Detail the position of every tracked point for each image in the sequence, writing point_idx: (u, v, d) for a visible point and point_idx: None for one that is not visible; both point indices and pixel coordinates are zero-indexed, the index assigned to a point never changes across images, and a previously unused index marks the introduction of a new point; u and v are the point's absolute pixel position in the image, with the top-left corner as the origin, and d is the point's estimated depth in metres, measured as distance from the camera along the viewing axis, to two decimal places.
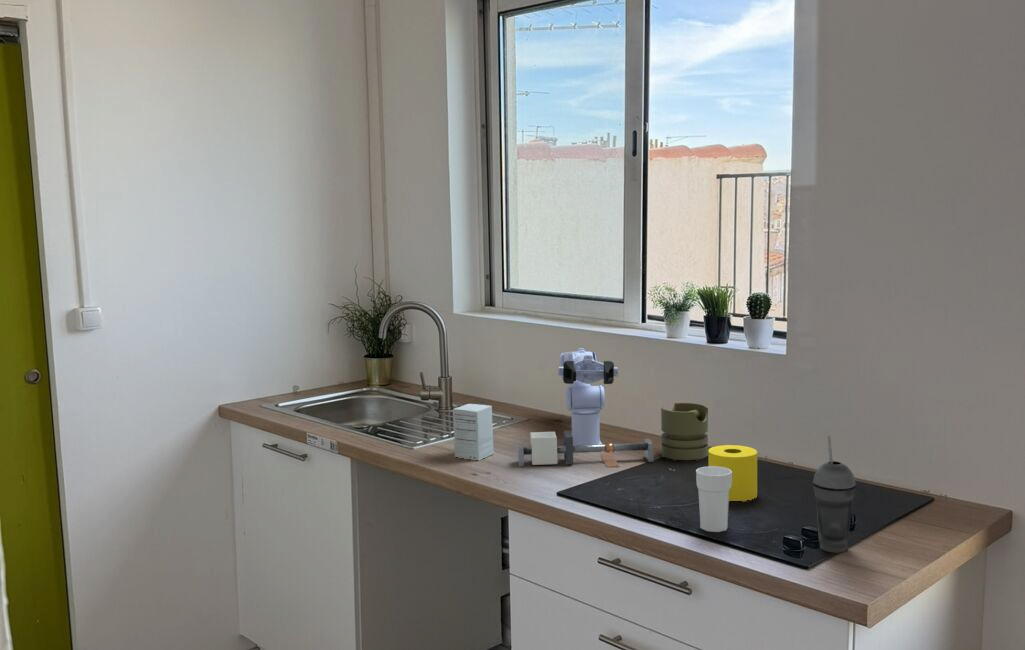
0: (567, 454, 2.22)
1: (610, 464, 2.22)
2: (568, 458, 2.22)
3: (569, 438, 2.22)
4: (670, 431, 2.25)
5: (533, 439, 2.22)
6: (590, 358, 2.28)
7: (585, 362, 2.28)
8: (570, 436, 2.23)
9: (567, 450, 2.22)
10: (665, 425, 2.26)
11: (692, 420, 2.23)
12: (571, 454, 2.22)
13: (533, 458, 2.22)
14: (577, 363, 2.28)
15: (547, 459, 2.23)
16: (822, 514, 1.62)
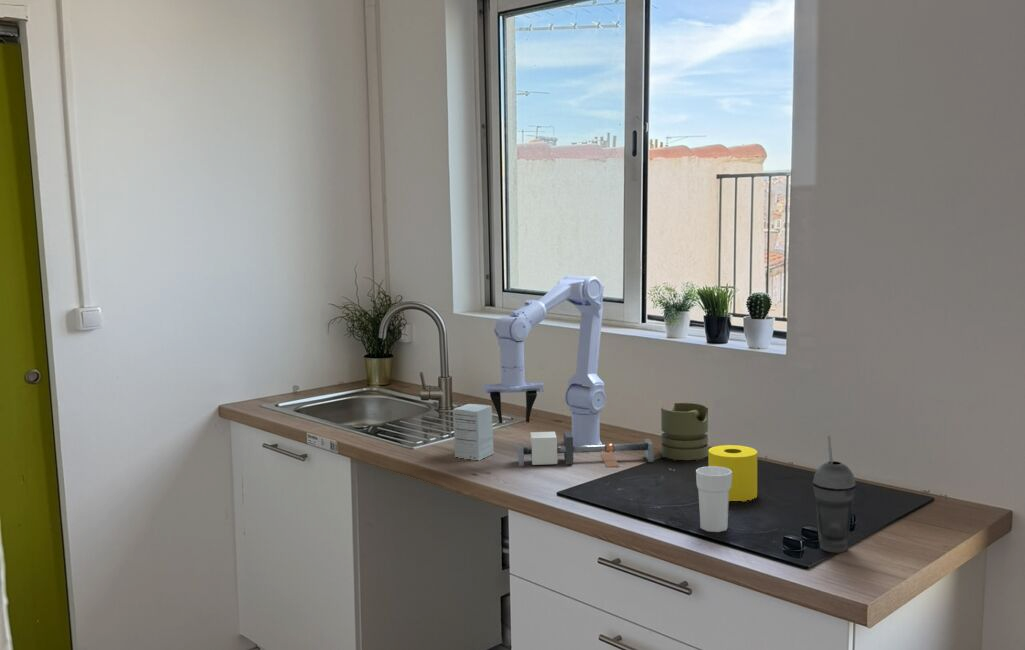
0: (567, 454, 2.22)
1: (610, 464, 2.22)
2: (568, 458, 2.22)
3: (569, 438, 2.22)
4: (670, 431, 2.25)
5: (533, 439, 2.22)
6: (515, 389, 2.20)
7: None
8: (570, 436, 2.23)
9: (567, 450, 2.22)
10: (665, 425, 2.26)
11: (692, 420, 2.23)
12: (571, 454, 2.22)
13: (533, 458, 2.22)
14: (502, 389, 2.21)
15: (547, 459, 2.23)
16: (822, 514, 1.62)
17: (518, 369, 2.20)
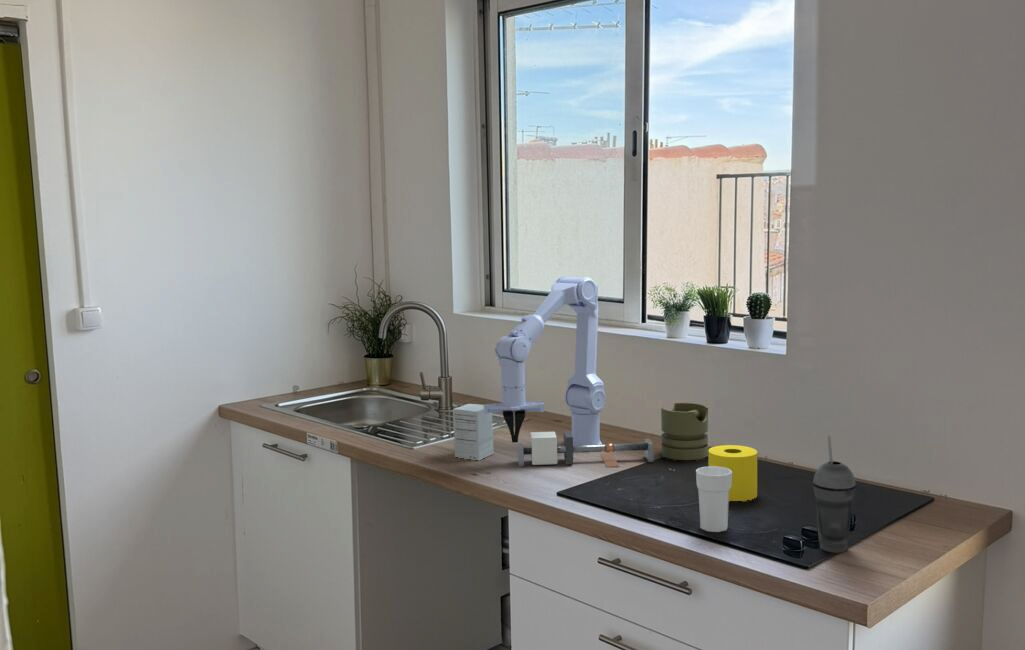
0: (567, 454, 2.22)
1: (610, 464, 2.22)
2: (568, 458, 2.22)
3: (569, 438, 2.22)
4: (670, 431, 2.25)
5: (533, 439, 2.22)
6: (516, 409, 2.21)
7: None
8: (570, 436, 2.23)
9: (567, 450, 2.22)
10: (665, 425, 2.26)
11: (692, 420, 2.23)
12: (571, 454, 2.22)
13: (533, 458, 2.22)
14: None
15: (547, 459, 2.23)
16: (822, 514, 1.62)
17: (519, 389, 2.21)
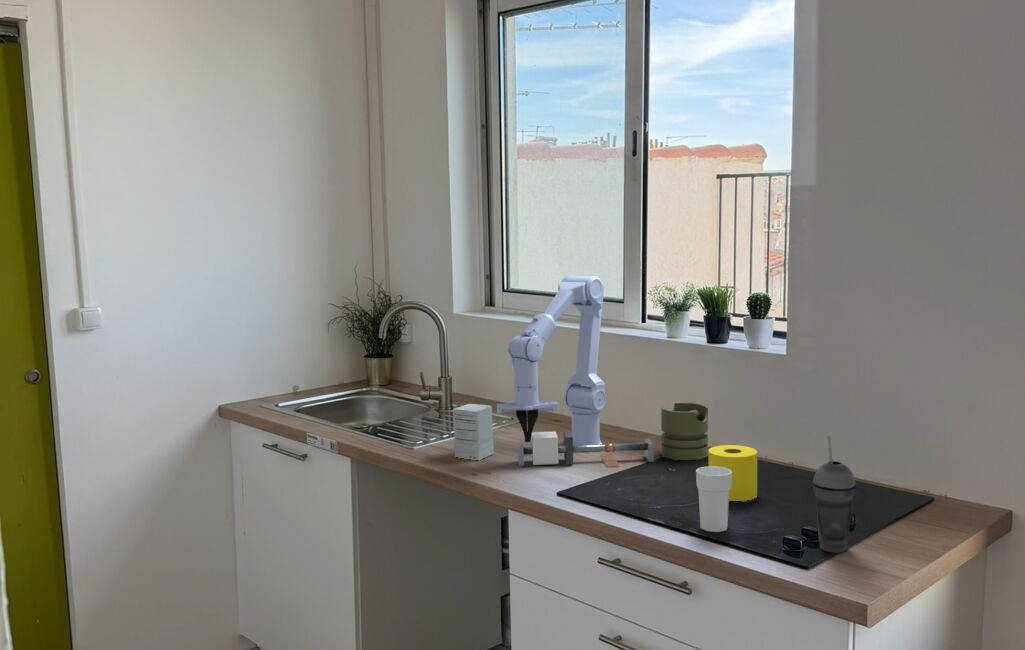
0: (567, 454, 2.22)
1: (610, 464, 2.22)
2: (568, 458, 2.22)
3: (569, 438, 2.22)
4: (670, 431, 2.25)
5: (534, 439, 2.22)
6: None
7: None
8: (570, 436, 2.23)
9: (567, 450, 2.22)
10: (665, 425, 2.26)
11: (692, 420, 2.23)
12: (571, 454, 2.22)
13: (534, 458, 2.22)
14: (516, 409, 2.22)
15: (548, 459, 2.23)
16: (822, 514, 1.62)
17: (532, 389, 2.21)
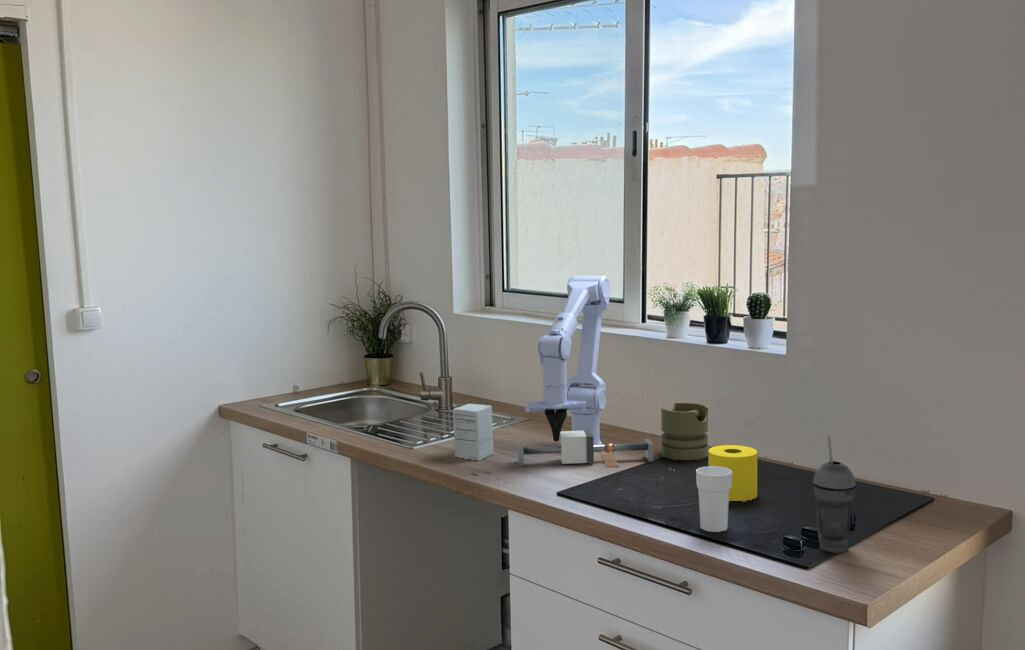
0: (587, 453, 2.22)
1: (610, 464, 2.22)
2: (588, 457, 2.22)
3: (589, 437, 2.22)
4: (670, 431, 2.25)
5: (563, 438, 2.22)
6: None
7: None
8: (590, 435, 2.23)
9: (588, 450, 2.22)
10: (665, 425, 2.26)
11: (692, 420, 2.23)
12: (591, 453, 2.22)
13: (563, 457, 2.23)
14: (545, 408, 2.22)
15: (577, 458, 2.23)
16: (822, 514, 1.62)
17: (561, 388, 2.21)
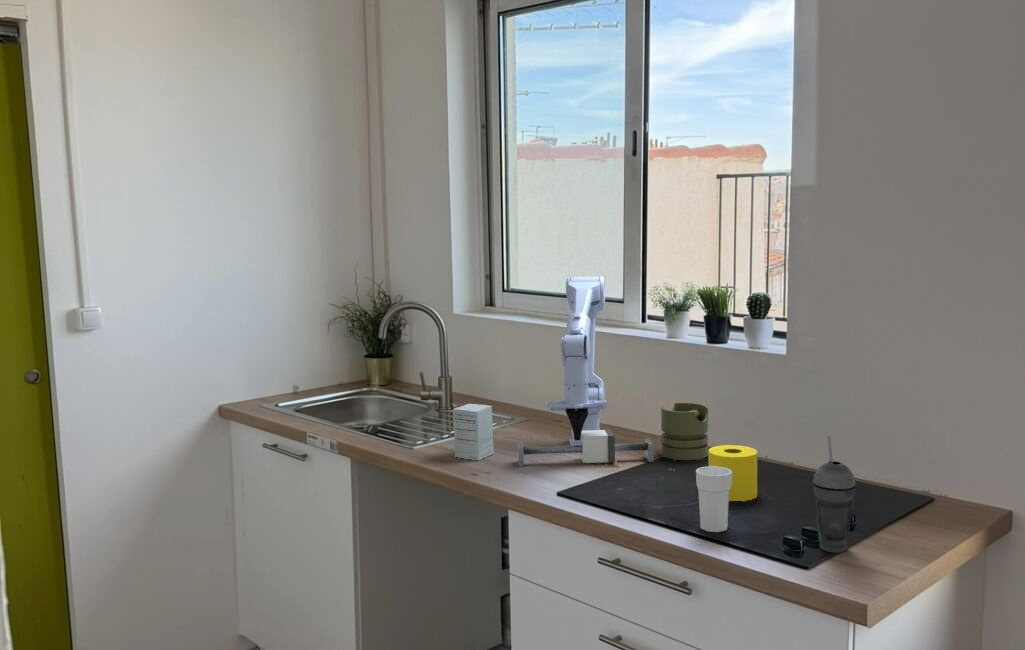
0: (609, 453, 2.22)
1: (610, 464, 2.22)
2: (610, 457, 2.23)
3: (611, 437, 2.22)
4: (670, 431, 2.25)
5: (584, 437, 2.22)
6: (580, 407, 2.21)
7: None
8: (612, 435, 2.23)
9: (609, 449, 2.22)
10: (665, 425, 2.26)
11: (692, 420, 2.23)
12: (613, 453, 2.22)
13: (584, 456, 2.23)
14: (566, 407, 2.22)
15: (598, 457, 2.23)
16: (821, 514, 1.62)
17: (582, 387, 2.21)
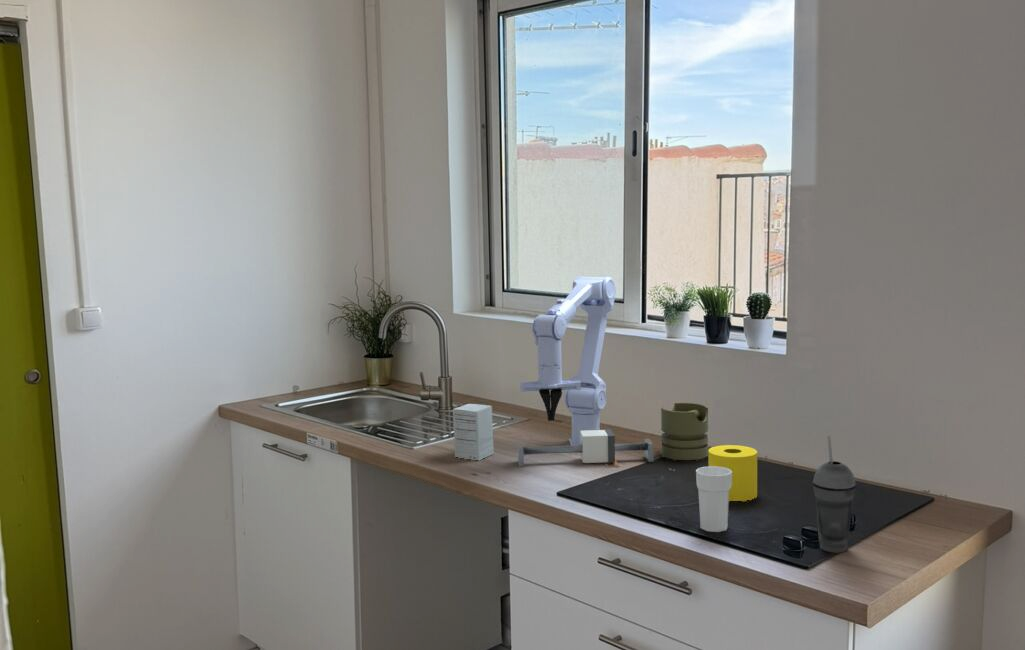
0: (609, 453, 2.22)
1: (610, 464, 2.22)
2: (610, 457, 2.23)
3: (611, 437, 2.22)
4: (670, 431, 2.25)
5: (584, 437, 2.22)
6: (553, 387, 2.21)
7: None
8: (612, 435, 2.23)
9: (609, 449, 2.22)
10: (665, 425, 2.26)
11: (692, 420, 2.23)
12: (613, 453, 2.22)
13: (584, 456, 2.23)
14: (540, 387, 2.22)
15: (598, 457, 2.23)
16: (822, 514, 1.62)
17: (556, 367, 2.21)
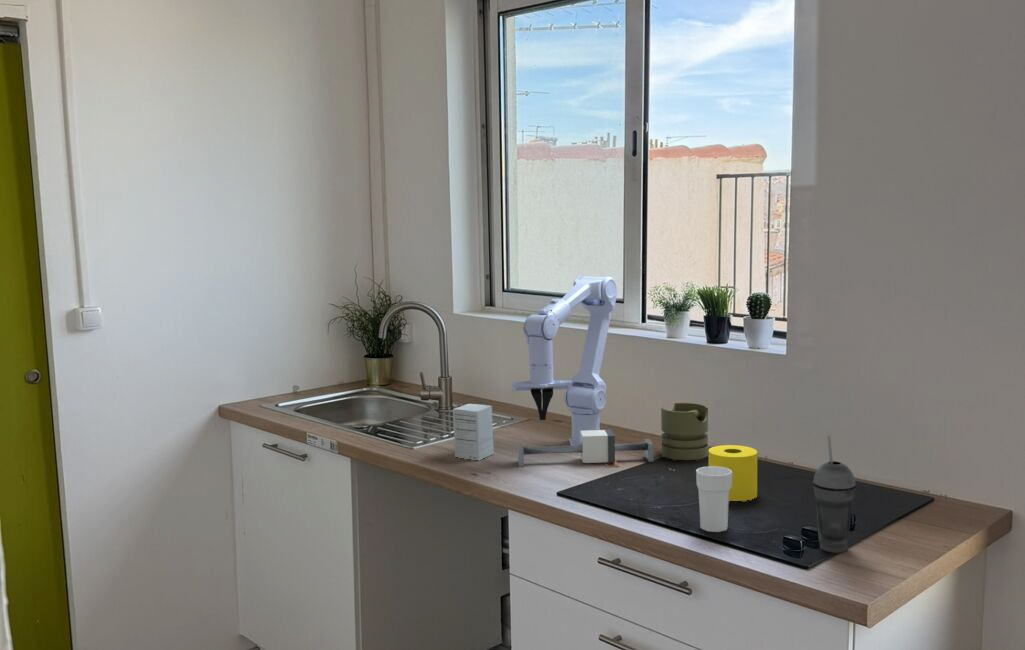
0: (609, 453, 2.22)
1: (610, 464, 2.22)
2: (610, 457, 2.23)
3: (611, 437, 2.22)
4: (670, 431, 2.25)
5: (584, 437, 2.22)
6: None
7: None
8: (612, 435, 2.23)
9: (609, 449, 2.22)
10: (665, 425, 2.26)
11: (692, 420, 2.23)
12: (613, 453, 2.22)
13: (584, 456, 2.23)
14: (531, 387, 2.23)
15: (598, 457, 2.23)
16: (822, 514, 1.62)
17: (547, 367, 2.22)
